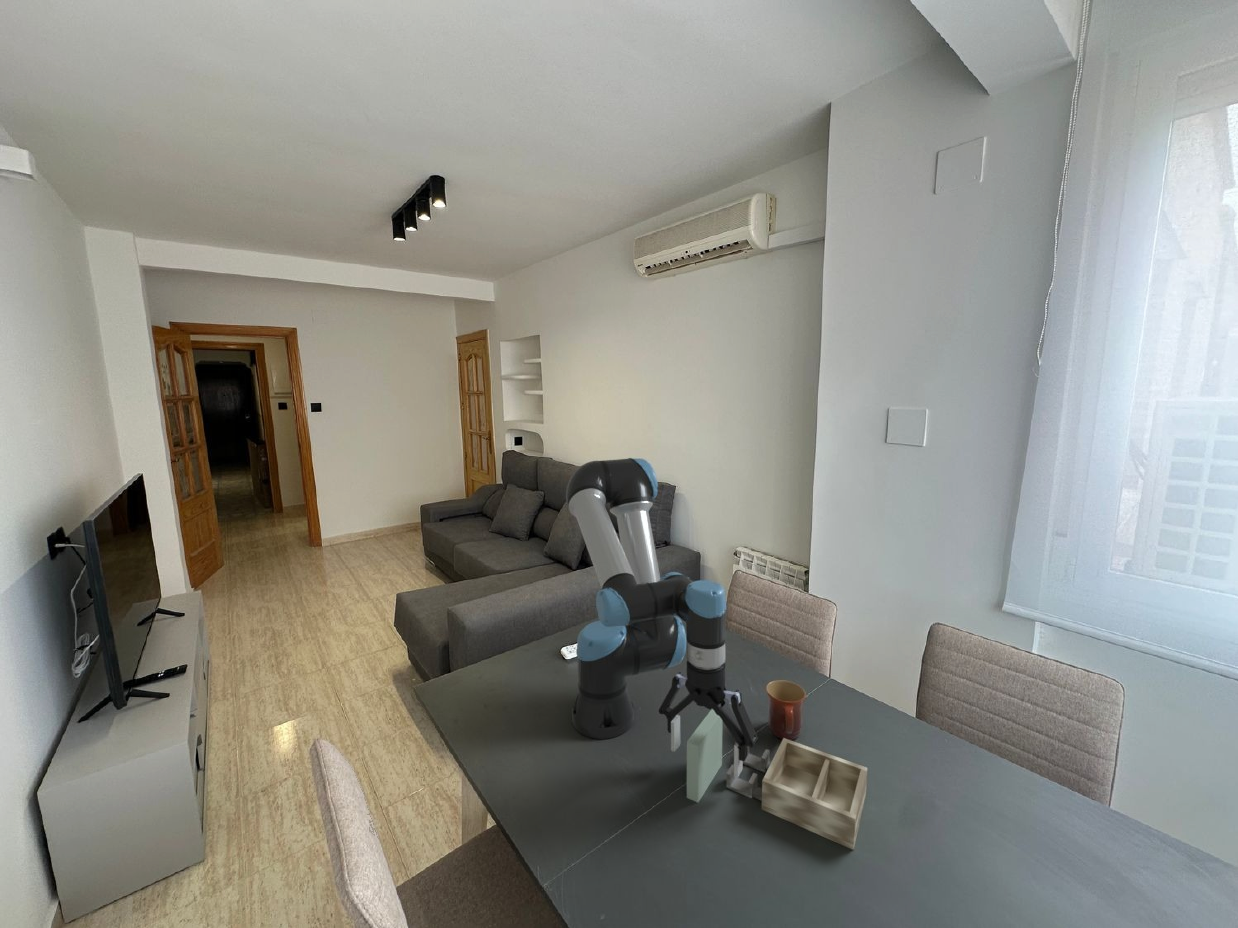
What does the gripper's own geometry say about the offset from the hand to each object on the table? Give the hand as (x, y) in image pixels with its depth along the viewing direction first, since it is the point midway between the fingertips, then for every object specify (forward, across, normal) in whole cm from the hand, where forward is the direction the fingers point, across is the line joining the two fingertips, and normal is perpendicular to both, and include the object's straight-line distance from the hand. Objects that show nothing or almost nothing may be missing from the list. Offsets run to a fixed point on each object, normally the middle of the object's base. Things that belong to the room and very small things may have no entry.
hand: (705, 759), depth 102 cm
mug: (+5, +10, +22) cm, 25 cm away
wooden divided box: (+5, +16, +6) cm, 18 cm away
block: (+5, 0, 0) cm, 5 cm away
